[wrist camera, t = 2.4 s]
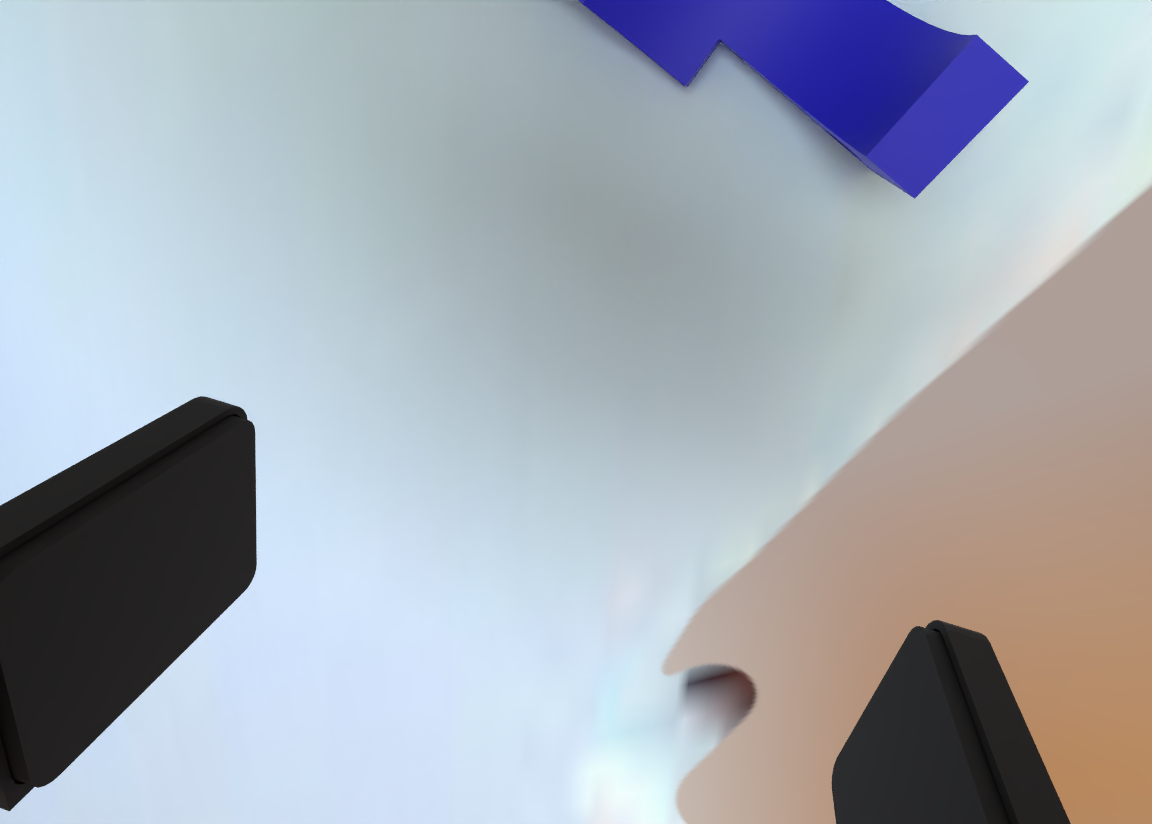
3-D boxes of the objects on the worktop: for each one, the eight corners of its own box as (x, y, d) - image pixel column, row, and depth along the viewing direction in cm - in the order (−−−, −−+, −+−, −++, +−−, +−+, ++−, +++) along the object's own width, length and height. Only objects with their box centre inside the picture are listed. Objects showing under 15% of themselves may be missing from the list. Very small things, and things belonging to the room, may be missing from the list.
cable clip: (533, -45, 21) (462, -89, 15) (624, -208, 19) (579, -324, 13) (834, 209, 22) (864, 249, 17) (951, 82, 20) (1028, 81, 15)
